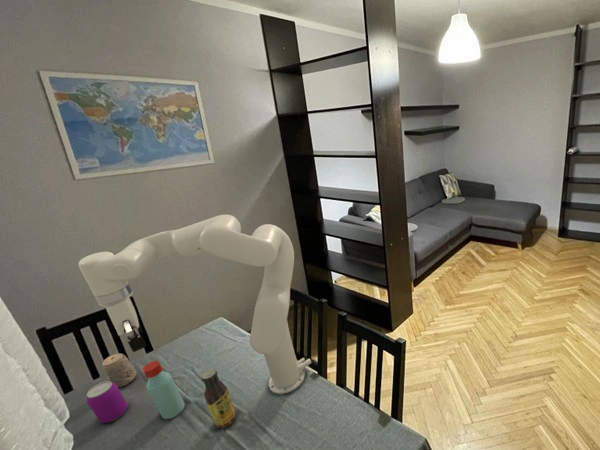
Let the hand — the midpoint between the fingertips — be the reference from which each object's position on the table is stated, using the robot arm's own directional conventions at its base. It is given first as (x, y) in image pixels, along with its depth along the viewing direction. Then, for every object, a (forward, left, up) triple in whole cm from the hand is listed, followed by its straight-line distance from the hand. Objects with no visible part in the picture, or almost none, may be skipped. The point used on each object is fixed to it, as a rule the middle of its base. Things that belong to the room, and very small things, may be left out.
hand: (138, 340), depth 95 cm
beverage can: (+15, -14, -31) cm, 37 cm away
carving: (+11, -29, -31) cm, 44 cm away
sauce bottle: (-12, +18, -31) cm, 37 cm away
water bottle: (0, 0, -30) cm, 30 cm away
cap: (0, 0, -13) cm, 13 cm away
